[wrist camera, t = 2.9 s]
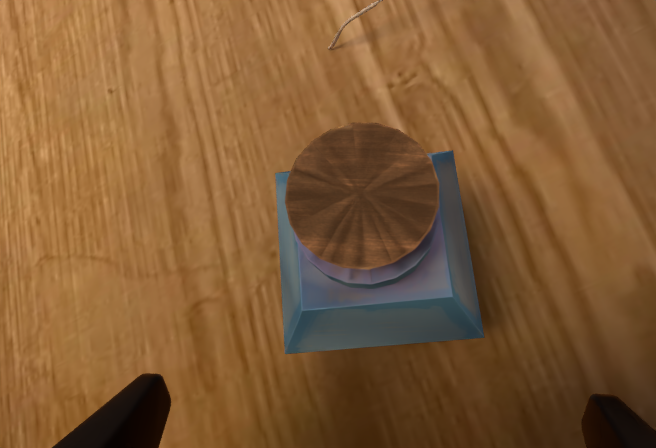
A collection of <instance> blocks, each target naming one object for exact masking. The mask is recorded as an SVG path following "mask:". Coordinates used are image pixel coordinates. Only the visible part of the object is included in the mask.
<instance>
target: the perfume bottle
mask: <svg viewBox="0 0 656 448" xmlns="http://www.w3.org/2000/svg"><path fill="white" fill-rule="evenodd" d="M275 174H276V193H277V212H278V230H279V249H280V268H281V287H282V306H283V325H284V344H285V354H291V353H303V352H315V351H327V350H339V349H352V348H364V347H376V346H388V345H400V344H412V343H425V342H437V341H449V340H461V339H473V338H484V333H483V327H482V321H481V315H480V309H479V303H478V297H477V291H476V285H475V279H474V274H473V268H472V262H471V256H470V250H469V244H468V238H467V232H466V226H465V220H464V214H463V208H462V202H461V196H460V190H459V184H458V178H457V172H456V166H455V161H454V155H453V150H452V151H445V152H437V153H429V154H426V153H425V151H424V150H423V149H422V148H421V146H420V145H419V144H418V143H417V142H416V141H414V140H413V139H412V138H410V137H409V136H407V135H406V134H404V133H403V132H401V131H400V130H398V129H395V128H391V127H388V126H385V125H382V124H378V123H351V124H347V125H344V126H340V127H337V128H333V129H330V130H329V131H327V132H326V133H324V134H322V135H321V136H319V137H318V138H316V139H314V140H313V141H311V142H310V144H309V145H308V146H307V147H306V148H305V149H304V150H303V152H302V153H301V154H300V155H299V156H298V157H297V158H296V160H295V163H294V165H293V167H292V169H291V171H288V172H280V173H275Z"/></svg>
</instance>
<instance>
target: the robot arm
mask: <svg viewBox="0 0 656 448" xmlns="http://www.w3.org/2000/svg"><path fill="white" fill-rule="evenodd" d="M170 407H171V398H170V395H169V392H168V389H167V387H166V384H165V381H164V379H163V377H162V376H161V375H160V374H149V373H146V374H142V375H140V376H139V377H137V378H136V379H135V380H134V381H133V382H131V383H130V384H129V385H128V386H126V387H125V388H124V389H123V390H122V391H120V392H119V393H118V394H117V395H116V396H114V397H113V398H112V399H111V400H109V401H108V402H107V403H106V404H105V405H103V406H102V407H101V408H100V409H98V410H97V411H96V412H95V413H94V414H92V415H91V416H90V417H89V418H88V419H86V420H85V421H84V422H83V423H81V424H80V425H79V426H78V427H77V428H75V429H74V430H73V431H72V432H70V433H69V434H68V435H67V436H66V437H64V438H63V439H62V440H61V441H60V442H58V443H57V444H56V445H55V446H53V447H52V448H159V445H160V441H161V438H162V434H163V431H164V428H165V424H166V421H167V418H168V414H169V411H170ZM582 432H583V436H584V440H585V444H586V447H587V448H656V431H654V430H653V429H652V428H651V427H650V426H649V425H648V424H647V423H646V422H645V421H643V420H642V419H641V418H640V417H639V416H638V415H637V414H636V413H635V412H634V411H632V410H631V409H630V408H629V407H628V406H627V405H626V404H625V403H624V402H623V401H621V400H620V399H619V398H618V397H616V396H614V395H611V394H592V395H591V396H590V398H589V400H588V403H587V406H586V409H585V412H584V415H583V418H582Z"/></svg>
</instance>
